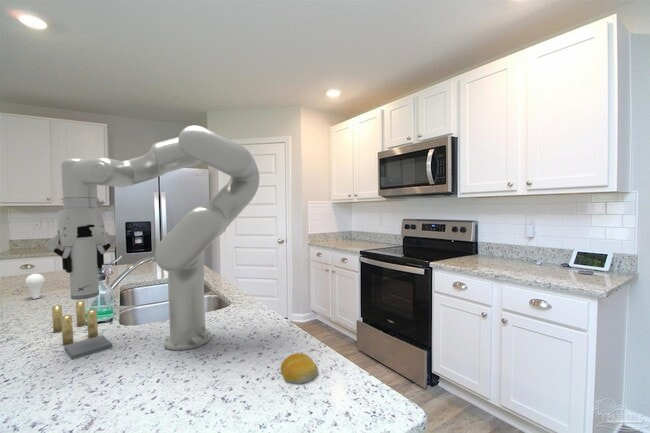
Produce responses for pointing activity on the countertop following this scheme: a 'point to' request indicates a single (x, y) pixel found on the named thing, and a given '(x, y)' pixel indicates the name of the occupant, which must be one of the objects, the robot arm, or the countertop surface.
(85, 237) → the travel mug
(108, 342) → the mat
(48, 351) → the countertop surface
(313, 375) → the bread roll
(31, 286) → the lightbulb
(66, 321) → the spacer posts
